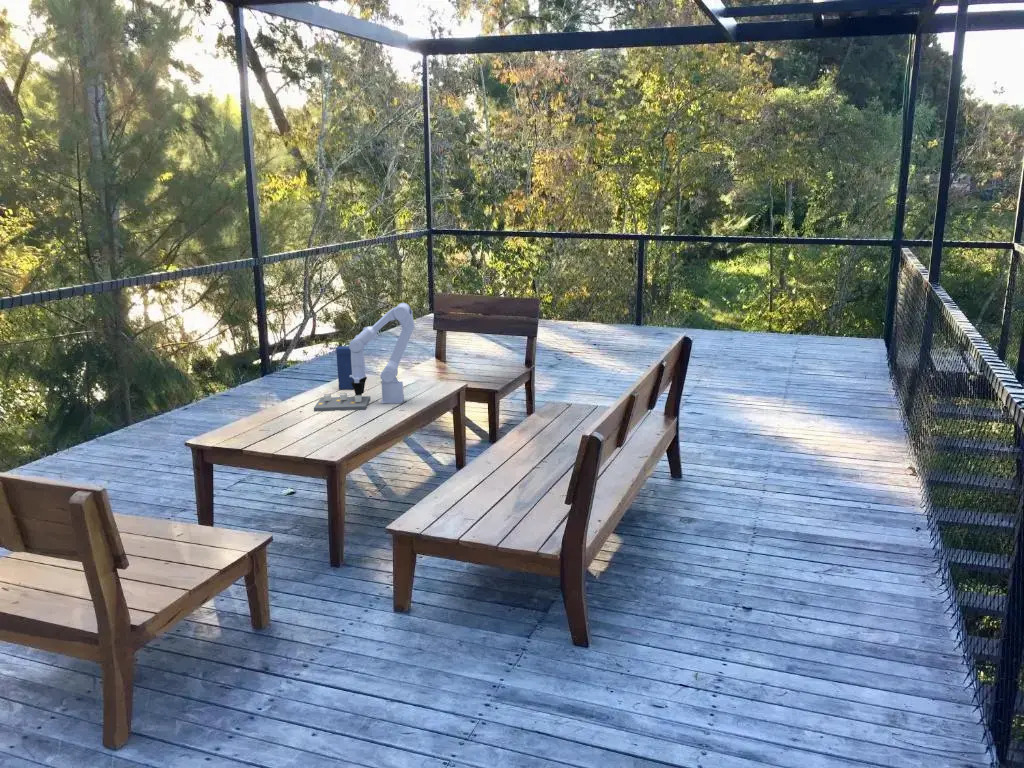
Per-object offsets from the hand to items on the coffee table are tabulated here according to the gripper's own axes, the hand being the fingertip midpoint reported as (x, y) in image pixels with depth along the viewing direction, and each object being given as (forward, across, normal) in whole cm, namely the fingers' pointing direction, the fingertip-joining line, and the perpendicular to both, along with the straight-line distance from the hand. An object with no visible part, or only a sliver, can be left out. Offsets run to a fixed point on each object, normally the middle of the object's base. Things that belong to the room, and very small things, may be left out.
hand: (360, 395), depth 392 cm
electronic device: (+3, -27, -9) cm, 29 cm away
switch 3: (+1, +6, 0) cm, 6 cm away
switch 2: (+1, +2, -7) cm, 7 cm away
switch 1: (+1, +2, -14) cm, 14 cm away
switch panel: (+3, +5, -7) cm, 9 cm away
